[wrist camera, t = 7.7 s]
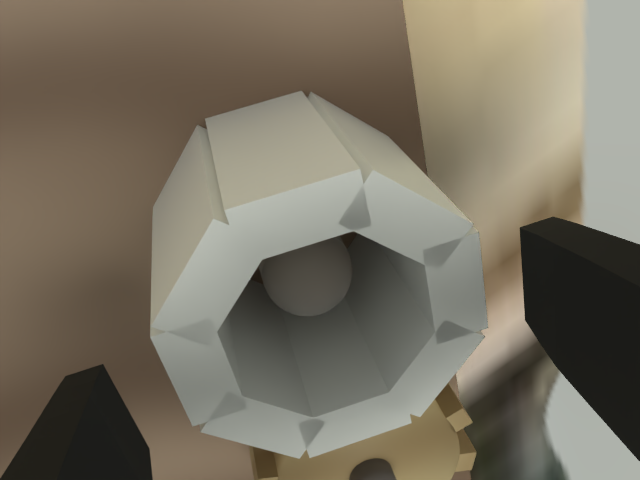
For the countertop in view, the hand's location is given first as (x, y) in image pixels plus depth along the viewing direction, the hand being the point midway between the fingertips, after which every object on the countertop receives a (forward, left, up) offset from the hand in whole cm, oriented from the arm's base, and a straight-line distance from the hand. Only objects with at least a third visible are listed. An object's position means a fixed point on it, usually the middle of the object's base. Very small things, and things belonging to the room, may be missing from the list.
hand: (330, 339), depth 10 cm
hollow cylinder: (0, 0, -5) cm, 5 cm away
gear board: (-5, 0, -6) cm, 8 cm away
